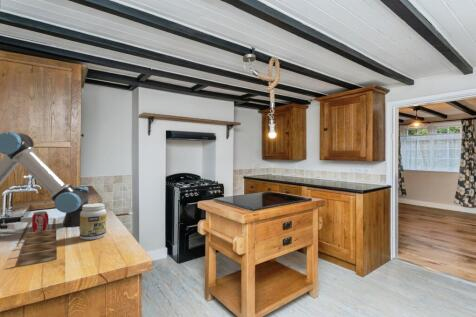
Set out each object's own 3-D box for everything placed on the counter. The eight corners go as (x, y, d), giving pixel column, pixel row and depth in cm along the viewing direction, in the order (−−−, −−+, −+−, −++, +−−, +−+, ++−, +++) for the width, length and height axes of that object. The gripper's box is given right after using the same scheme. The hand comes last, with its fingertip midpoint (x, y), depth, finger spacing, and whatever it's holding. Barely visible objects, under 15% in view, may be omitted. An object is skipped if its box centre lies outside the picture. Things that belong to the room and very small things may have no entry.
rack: (56, 237, 136) (56, 229, 136) (56, 259, 108) (56, 249, 108) (26, 241, 129) (26, 232, 129) (19, 266, 101) (19, 255, 101)
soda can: (51, 233, 141) (51, 211, 141) (37, 237, 134) (37, 214, 134) (42, 232, 143) (42, 210, 143) (28, 236, 137) (28, 213, 137)
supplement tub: (87, 242, 129) (87, 208, 129) (75, 237, 136) (75, 205, 135) (110, 235, 139) (111, 204, 139) (98, 231, 146) (98, 201, 146)
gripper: (1, 223, 149) (40, 223, 150) (-42, 238, 124) (6, 237, 126) (1, 210, 148) (40, 210, 150) (-42, 222, 124) (6, 222, 125)
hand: (24, 223), depth 138 cm, fingers open, 13 cm apart
